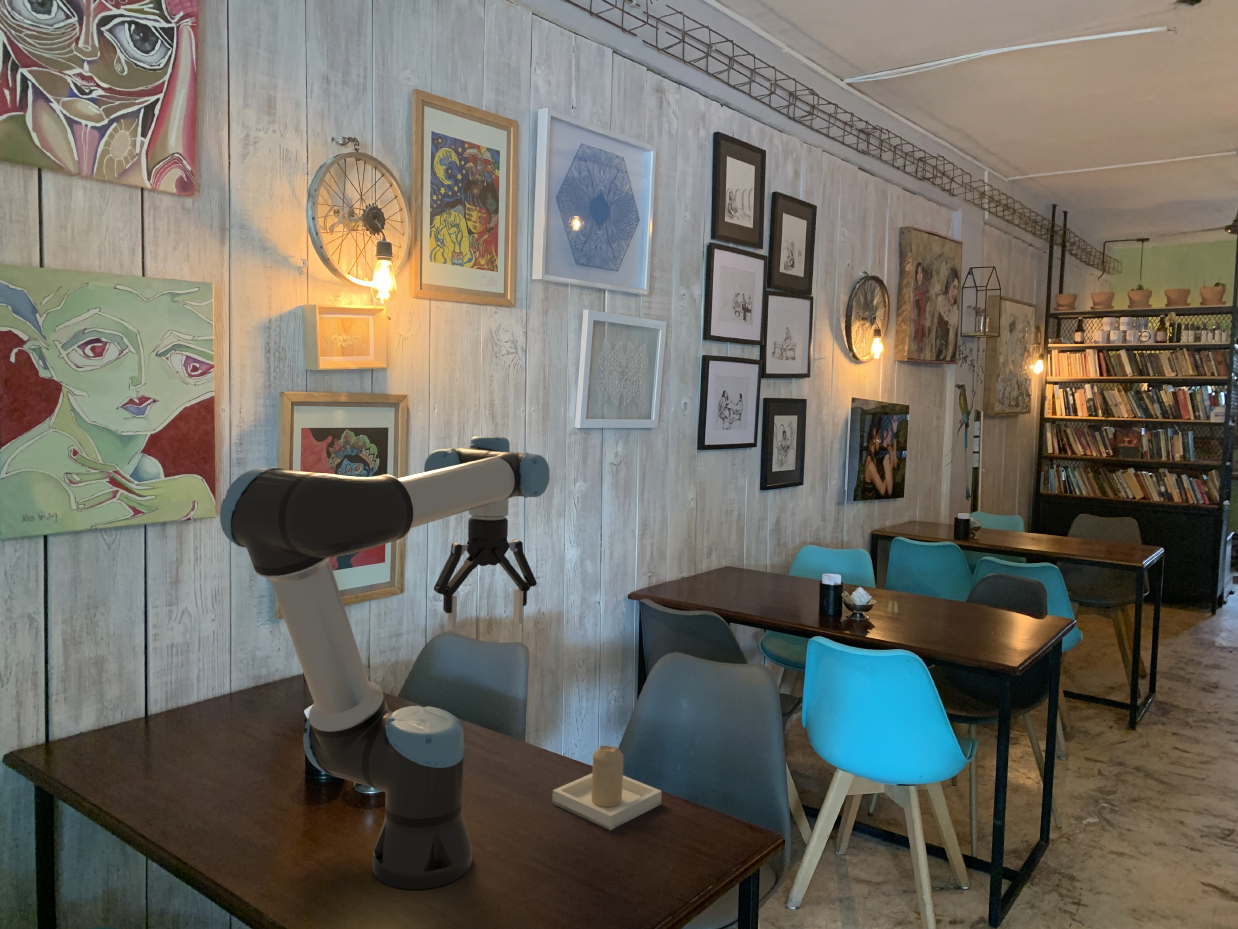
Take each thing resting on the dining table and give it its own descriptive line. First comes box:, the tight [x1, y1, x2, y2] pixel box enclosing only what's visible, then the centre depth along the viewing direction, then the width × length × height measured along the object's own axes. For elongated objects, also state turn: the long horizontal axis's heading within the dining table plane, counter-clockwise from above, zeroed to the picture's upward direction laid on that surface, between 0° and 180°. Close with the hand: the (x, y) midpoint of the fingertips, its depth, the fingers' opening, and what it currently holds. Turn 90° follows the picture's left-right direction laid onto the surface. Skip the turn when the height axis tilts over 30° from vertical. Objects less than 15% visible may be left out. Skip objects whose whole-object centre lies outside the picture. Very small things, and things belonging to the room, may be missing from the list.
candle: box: [591, 745, 624, 807], centre depth 159 cm, size 6×6×10 cm
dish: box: [551, 772, 663, 831], centre depth 160 cm, size 14×14×2 cm
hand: (485, 626), depth 170 cm, fingers open, 13 cm apart
